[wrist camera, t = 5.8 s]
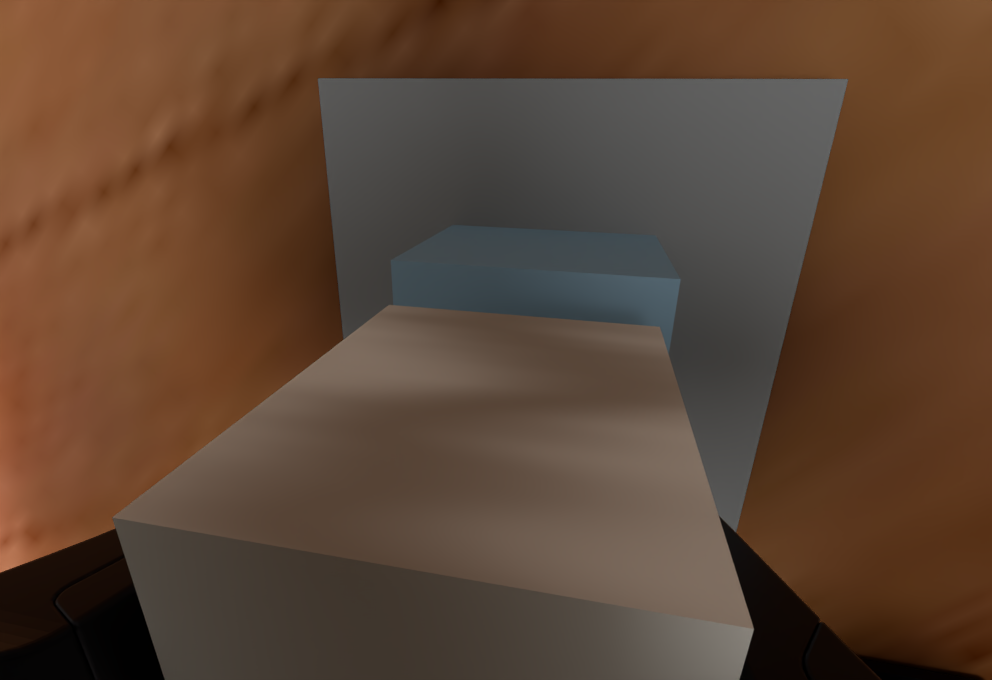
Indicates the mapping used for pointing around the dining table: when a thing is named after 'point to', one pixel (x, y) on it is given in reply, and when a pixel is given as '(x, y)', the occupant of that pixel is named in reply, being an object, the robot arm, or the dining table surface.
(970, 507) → the dining table surface
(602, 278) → the bottom brick
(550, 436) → the top brick
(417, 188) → the base mat
